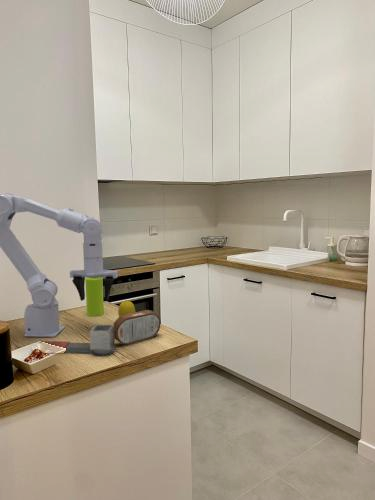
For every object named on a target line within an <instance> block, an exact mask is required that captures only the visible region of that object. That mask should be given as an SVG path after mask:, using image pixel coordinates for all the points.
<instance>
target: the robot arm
mask: <svg viewBox="0 0 375 500" xmlns="http://www.w3.org/2000/svg"><path fill="white" fill-rule="evenodd" d="M25 212H28V213H32V214H35V215H38V216H41V217H43V218H47V219H50V220H53V221H55V222H56V224H57V226H58V227H61V228H63V229H67V230H69V231H71V232H74V233H77V234H80V233H82V235H83V242H82V246H83V247H82V248H83V249H82V251H83V269H78V270H77V269H76V270H70V271H69V279H70V278H72V283H73V285H74V286H75V288H76V290H77V292H78V295H79V300H80V301H84V300H86V288H85V286H86V282H85V278H87V277H102V278H103V290H104V301H105V302H108V301H109V299H110V293H111V289H112V286H113V283H114V282H115V280H116V279H117V278H118V276H119V275H118V270H110V269H104V260H103V254H104V253H103V242H102V239H103V238H102V233H103V227H102V223H101V222H100V221H99V220H98V219H97V218H95V217H93V216H92V217H90V215H89V214H83V213H79V212H77V211H74V208H72V207H69V208H66V207H65V208H62V209H60V210H59V209H56V208H53V207H51V206H49V205H46V204H43V203H41V202H38V201H36V200H33V199H30V198H28V197H24V196H20V195H14V194H12V193H8V192H7V193H0V248H1V250H2V252H3V253H4V255H6V257H7V258H8V259H9V261H10V263H12V265H13V266H14V268H15V269H16V270H17V272H18V273H19V274H20V276H21V277H22V279H23V280H24V281H25V284H26V287H27V290H28V292H29V294H30V296H31V300H32V302H33V303H32V304H31V303H30V304H27V306H26V307H25V309H24V316H23V317H24V330H25V333H24V335H23V336H24V337H34V338H35V337H37V338H38V337H39V338H41V337H42V338H43V337H44V338H45V337H46V338H48V337H49V338H55V337H56V336H57V335H58V334H60V333H61V332H62V331H63V330H64V329H65V326H64V325H60V313H59V312H60V311H59V309H60V308H59V301H58V300H57V299H56V295H57V294H58V290H59V289H58V286H57V284H56V283H55V282H54V281H53V280H52V279H51V280H50V278H48V276H47V275H46V274H44V273H43V272H42V271H41V270H40V268H39V267H38V266H37V264H36V263H35V262H34V260H33V259H32V257H31V256H30V254H29V253H28V252H27V251H26V249H25V248H24V246H23V245H22V244H21V242H20V241H19V239H18V238H17V236H16V235H15V234H14V232H13V231H12V230H11V228H10V227H11V225H12V221H13V218H14V216H15V215H16V213H17V214H18V213H25Z"/></svg>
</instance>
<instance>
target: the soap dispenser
mask: <svg viewBox="0 0 375 500" xmlns="http://www.w3.org/2000/svg"><path fill="white" fill-rule="evenodd" d="M103 280H104V278H103V277H85V302H86V303H85V304H86V315H87V316H88V317H99V316H103V315H104V313H105V311H104V310H105V309H104V282H103Z"/></svg>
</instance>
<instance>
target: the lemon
mask: <svg viewBox="0 0 375 500" xmlns="http://www.w3.org/2000/svg"><path fill="white" fill-rule="evenodd" d="M117 312H118V318H119V317H120V316H122V315H125V314H130V313H135V312H136V308H135V304H134V303H133V302H132V301H130V300H128V299H125V300H124V301H122V302H121V303H120V304H119V306H118V311H117Z"/></svg>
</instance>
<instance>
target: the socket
mask: <svg viewBox="0 0 375 500" xmlns="http://www.w3.org/2000/svg"><path fill="white" fill-rule="evenodd" d="M115 342H116V340H115V335H114V325H113V324H95V325H94V326H93V327H92V328H91V329H90V331H89V343H90V349H91V350H110V349H111V347H112V346H113V344H115Z"/></svg>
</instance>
